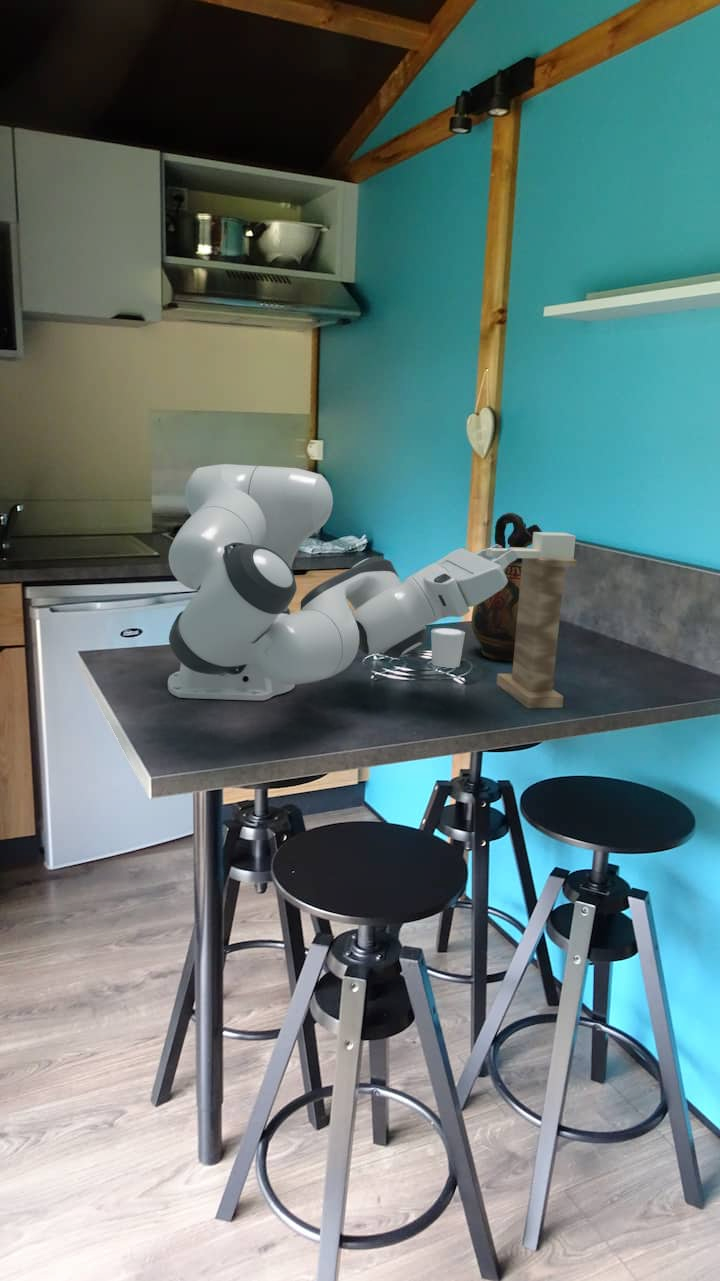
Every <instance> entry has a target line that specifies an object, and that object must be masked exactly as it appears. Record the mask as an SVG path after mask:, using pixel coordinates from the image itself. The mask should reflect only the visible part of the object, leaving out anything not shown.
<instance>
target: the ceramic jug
mask: <svg viewBox="0 0 720 1281" xmlns="http://www.w3.org/2000/svg"><path fill="white" fill-rule="evenodd" d="M508 524H512V526H513V529H512V532H511V533H510V534H509V536H508V537H507V542H506V534H505V533H506V529H507V525H508ZM533 532H543V531H542V530H541V528H540V527H539V525H538V524H532V525H530V526H528V527H527V524H526V522H524V519H523V517H522V516H521V515H518V514H517V513H515V512H506V513H504V514H502V515H501V516H499V517H498V519H497V520H496V522H495V527H494V545H496V544H498V545H500V546H502V548H507V547H506V545H507V544H508V546H509V547H528V546H529V547H530V546H532V542H533ZM521 569H522V558H517V559H516V560H515V561H513V562H511V563H510V564H509V565H508V566H507V567H506V568H505V569H504V570H503V571H504V573H505V575H506V577H507V580H508V583H507V584H506V585H505V587H504V588H503V589H501V590H500V591H498V592H497V593H495V594H494V595H492V596H491V597H489V598H488V599H486V600H484V601H483V602H481V603H479V604H477V605H475V606H473V608H472V613H471V629H472V632H473V634H474V636H475V638H476V639H477V642H478V643H479V645H480V646H481V647H482V648H481V653H482V656H484V657H486V658H489V659H491V660H494V661H496V662H499V661H501V662H502V661H503V662H504V661H505V662H508V663H509V662H510V663H511V662H512V663H513V660H514V649H515V638H516V626H517V615H518V603H519V592H520V581H521Z"/></svg>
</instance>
